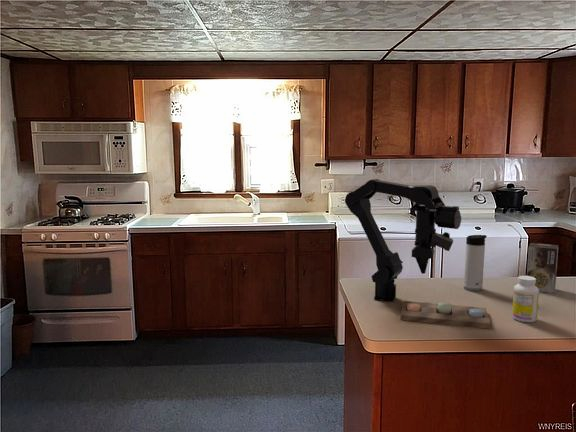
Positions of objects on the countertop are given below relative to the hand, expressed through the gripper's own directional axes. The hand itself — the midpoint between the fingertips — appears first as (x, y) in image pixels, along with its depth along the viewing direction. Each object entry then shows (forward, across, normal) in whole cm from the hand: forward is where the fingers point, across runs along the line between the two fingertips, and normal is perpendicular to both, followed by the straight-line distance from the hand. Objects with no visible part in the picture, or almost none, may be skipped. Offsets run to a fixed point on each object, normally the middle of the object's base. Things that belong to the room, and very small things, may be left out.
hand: (423, 273), depth 148 cm
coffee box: (+11, +32, -39) cm, 51 cm away
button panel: (+11, -6, -7) cm, 15 cm away
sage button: (+10, -6, -7) cm, 14 cm away
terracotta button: (+11, -7, +2) cm, 13 cm away
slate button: (+11, -6, -16) cm, 20 cm away
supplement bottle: (+11, -1, -30) cm, 32 cm away
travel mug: (+11, +24, -16) cm, 31 cm away
